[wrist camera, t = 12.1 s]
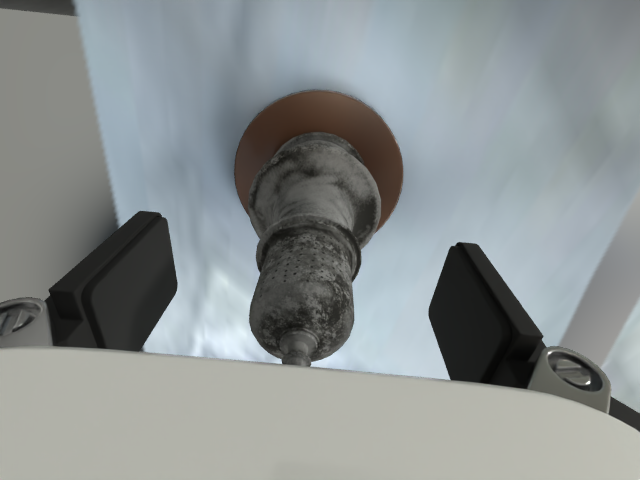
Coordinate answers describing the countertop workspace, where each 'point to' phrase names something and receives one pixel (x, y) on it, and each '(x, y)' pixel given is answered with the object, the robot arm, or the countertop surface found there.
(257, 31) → the countertop surface
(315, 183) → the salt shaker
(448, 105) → the countertop surface
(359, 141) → the coaster
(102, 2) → the countertop surface
